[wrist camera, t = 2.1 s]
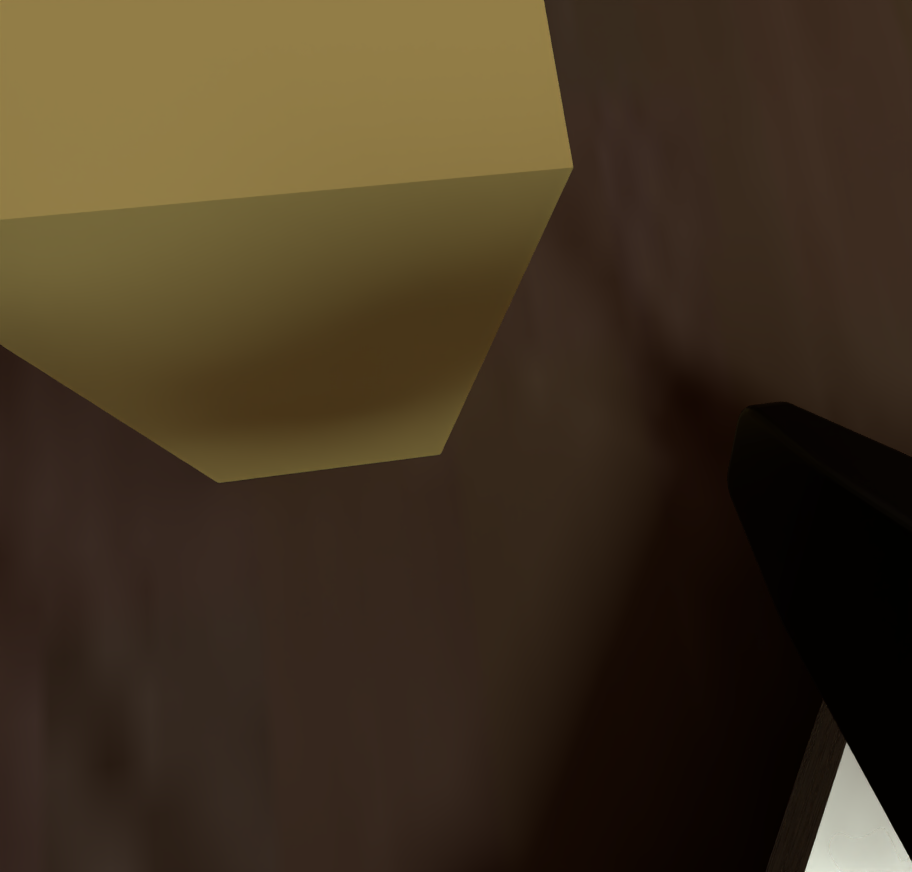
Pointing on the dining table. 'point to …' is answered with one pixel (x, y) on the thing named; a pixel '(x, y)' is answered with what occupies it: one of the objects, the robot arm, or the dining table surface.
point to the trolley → (834, 814)
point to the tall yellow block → (273, 214)
